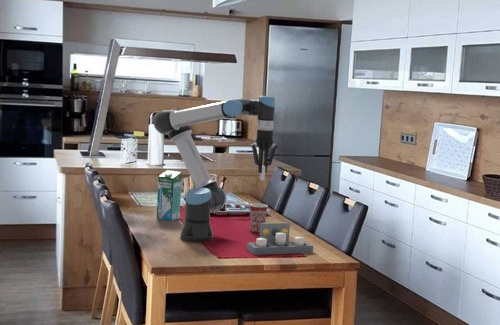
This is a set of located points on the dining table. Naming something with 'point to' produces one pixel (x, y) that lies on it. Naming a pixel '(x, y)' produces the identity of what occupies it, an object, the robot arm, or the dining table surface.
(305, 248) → the button board
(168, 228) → the dining table surface
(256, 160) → the robot arm
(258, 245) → the button left
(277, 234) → the button middle
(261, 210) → the mug
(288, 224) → the card
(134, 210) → the dining table surface
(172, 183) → the milk carton
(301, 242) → the button right
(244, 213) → the maze game
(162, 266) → the dining table surface
